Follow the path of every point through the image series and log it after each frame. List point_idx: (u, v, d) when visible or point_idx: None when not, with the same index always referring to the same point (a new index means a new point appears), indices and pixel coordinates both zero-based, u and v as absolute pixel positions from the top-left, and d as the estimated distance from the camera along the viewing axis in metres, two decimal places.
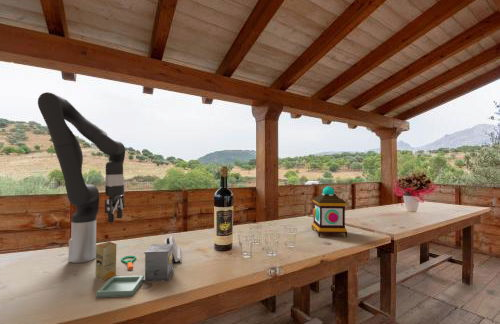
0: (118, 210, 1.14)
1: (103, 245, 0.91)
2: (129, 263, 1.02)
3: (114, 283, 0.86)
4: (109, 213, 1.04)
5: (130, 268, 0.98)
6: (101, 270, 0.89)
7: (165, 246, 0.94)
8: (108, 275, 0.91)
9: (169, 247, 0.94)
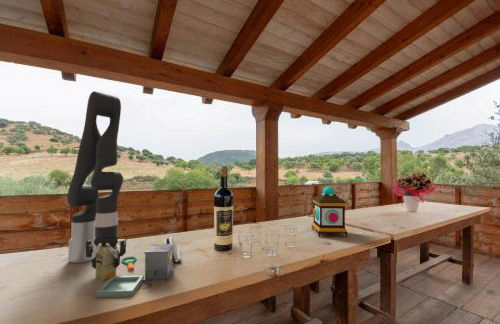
0: (95, 258, 0.92)
1: None
2: (129, 264, 1.01)
3: (114, 283, 0.86)
4: None
5: (131, 269, 0.97)
6: (101, 270, 0.89)
7: (165, 246, 0.94)
8: (108, 275, 0.91)
9: (169, 247, 0.94)
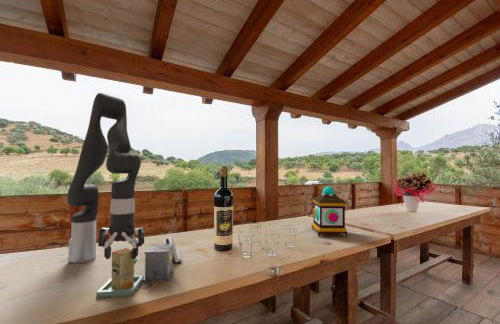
0: (108, 247, 0.83)
1: (120, 252, 0.83)
2: None
3: None
4: None
5: None
6: (117, 280, 0.81)
7: (165, 246, 0.94)
8: (125, 286, 0.82)
9: (169, 247, 0.94)
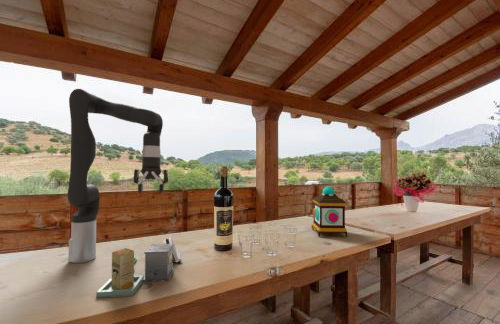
0: (141, 184, 1.07)
1: (120, 252, 0.83)
2: None
3: None
4: None
5: None
6: (117, 280, 0.81)
7: (165, 246, 0.94)
8: (125, 286, 0.82)
9: (169, 247, 0.94)
